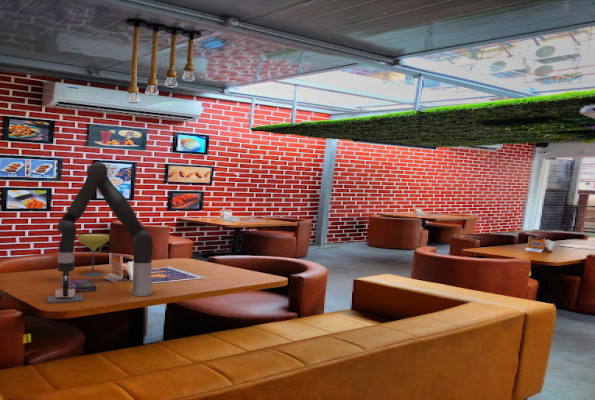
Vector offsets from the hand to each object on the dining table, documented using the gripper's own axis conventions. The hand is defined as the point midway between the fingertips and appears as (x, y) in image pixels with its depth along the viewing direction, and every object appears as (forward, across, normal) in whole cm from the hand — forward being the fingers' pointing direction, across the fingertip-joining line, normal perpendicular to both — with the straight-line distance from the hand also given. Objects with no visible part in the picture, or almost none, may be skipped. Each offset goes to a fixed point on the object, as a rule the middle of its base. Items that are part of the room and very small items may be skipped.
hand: (65, 294), depth 263 cm
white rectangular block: (+1, 0, 0) cm, 1 cm away
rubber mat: (+2, 0, 0) cm, 2 cm away
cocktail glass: (+3, -62, +16) cm, 64 cm away
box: (+3, -25, +7) cm, 26 cm away
